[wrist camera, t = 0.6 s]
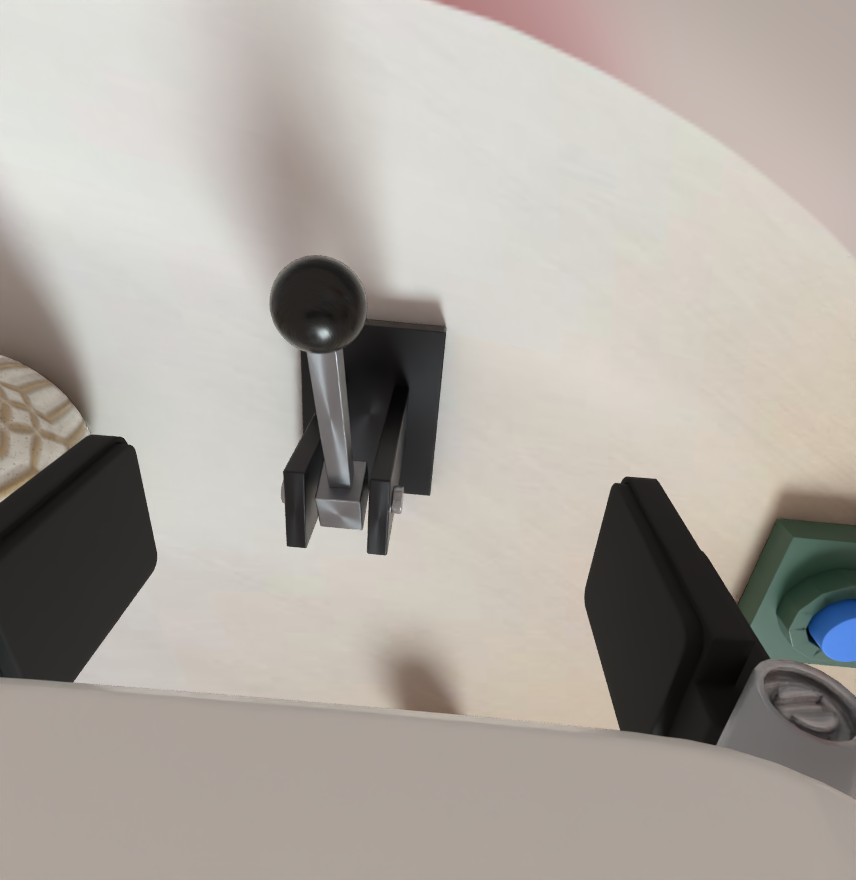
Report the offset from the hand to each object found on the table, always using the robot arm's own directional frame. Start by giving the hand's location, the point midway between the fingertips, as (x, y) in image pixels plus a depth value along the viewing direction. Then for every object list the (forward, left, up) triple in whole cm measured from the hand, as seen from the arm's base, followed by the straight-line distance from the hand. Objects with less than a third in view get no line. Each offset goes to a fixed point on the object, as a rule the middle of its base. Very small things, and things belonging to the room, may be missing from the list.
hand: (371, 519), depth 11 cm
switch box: (+21, +32, -25) cm, 46 cm away
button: (+21, +32, -22) cm, 44 cm away
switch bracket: (+9, -3, -25) cm, 27 cm away
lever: (+3, -3, -13) cm, 14 cm away
